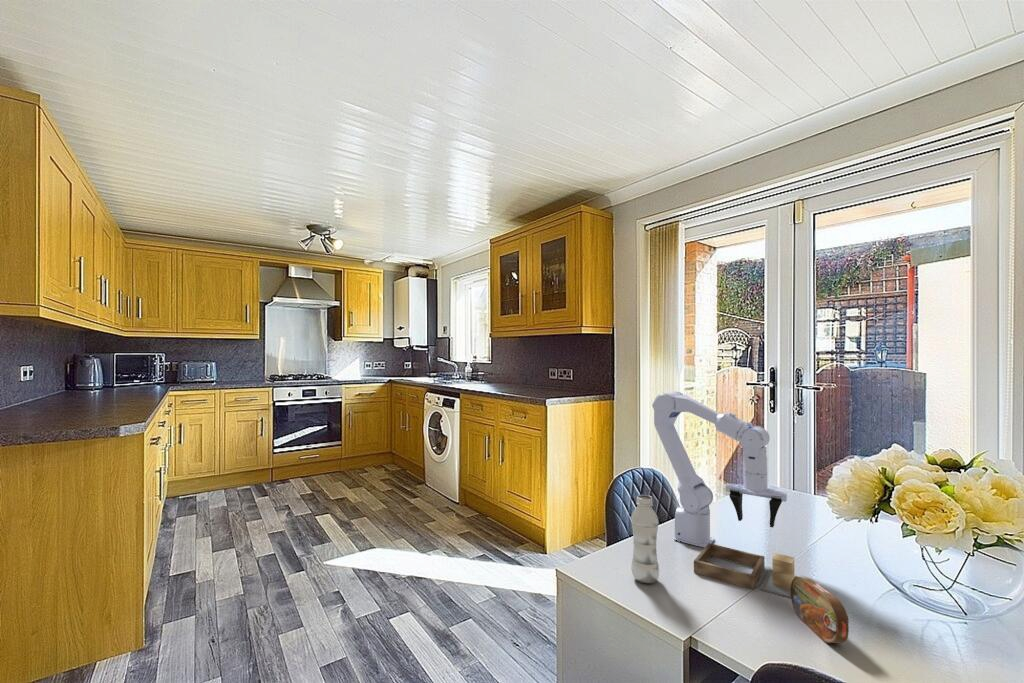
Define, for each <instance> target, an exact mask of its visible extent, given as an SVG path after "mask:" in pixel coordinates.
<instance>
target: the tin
mask: <svg viewBox="0 0 1024 683" xmlns="http://www.w3.org/2000/svg"><path fill="white" fill-rule="evenodd" d="M801 577H802V576H798V577H795V578H794V579H793V580H792V583H791V587H790V595H791V598H790V600H791V604H792V605H791V606H792V608H793V609H794V612H795V614H796V615H797V617H798V618H799V619H800V620H801V621H802V622H803V624H805V625H806V626H807V627H808V628H809V629H811V631H813V633H814V634H816V635H817V637H819V638H820V639H821V640H822V641H823V642H825V643H827V644H843V643H845V642H846V641H847V640H848V638H849V626H850V625H849V621H850V620H849V617H848V613H847V610H846V609H845V607H844V604H842V602H841V601H840V600H839V599H838V598H837V596H835V595H833V594H832V593H831V592H830V591H829V590H827V589H826V588H824V587H823V586H822V585H821V584H819V583H818V582H817V581H815V580H814V579H812V578H809V577H802V578H801Z"/></svg>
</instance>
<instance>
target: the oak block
mask: <svg viewBox="0 0 1024 683" xmlns="http://www.w3.org/2000/svg"><path fill="white" fill-rule="evenodd" d="M772 570H773V585H776V586H780V587H784V588H788V589H790V587H791V583H792V580H793V579H794V578H795V577H794V576H795V557H794V556H789V555H785V554H781V553H777V552H776V553H774V555H773V556H772Z"/></svg>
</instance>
